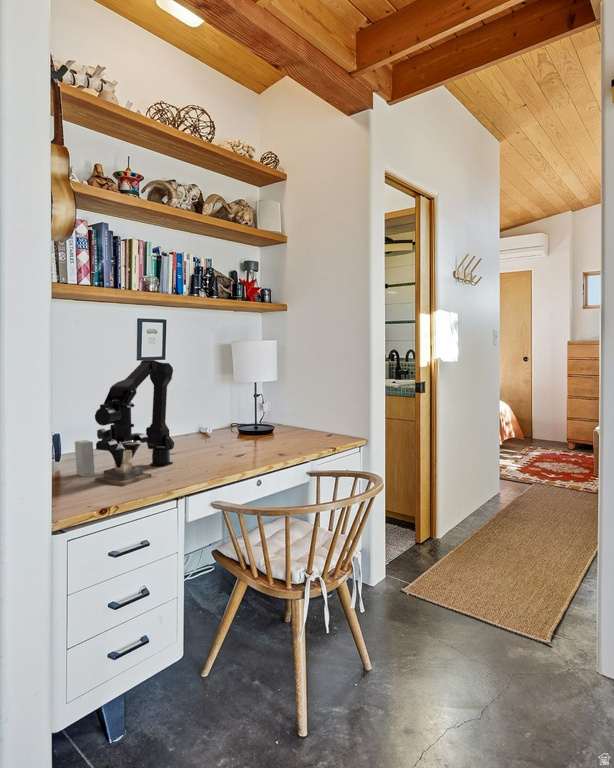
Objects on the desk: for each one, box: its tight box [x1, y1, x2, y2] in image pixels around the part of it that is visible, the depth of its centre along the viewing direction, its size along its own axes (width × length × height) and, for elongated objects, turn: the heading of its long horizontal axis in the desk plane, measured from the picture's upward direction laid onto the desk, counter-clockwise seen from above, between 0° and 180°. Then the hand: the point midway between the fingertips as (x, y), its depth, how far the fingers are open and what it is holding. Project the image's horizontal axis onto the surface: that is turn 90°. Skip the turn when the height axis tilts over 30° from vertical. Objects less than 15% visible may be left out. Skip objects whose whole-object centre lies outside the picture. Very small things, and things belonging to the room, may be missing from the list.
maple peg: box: [114, 448, 133, 472], centre depth 170 cm, size 4×4×8 cm
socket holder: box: [94, 465, 153, 487], centre depth 171 cm, size 13×13×4 cm
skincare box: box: [74, 439, 96, 478], centre depth 176 cm, size 6×4×12 cm
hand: (123, 466), depth 170 cm, fingers closed on maple peg, 4 cm apart
